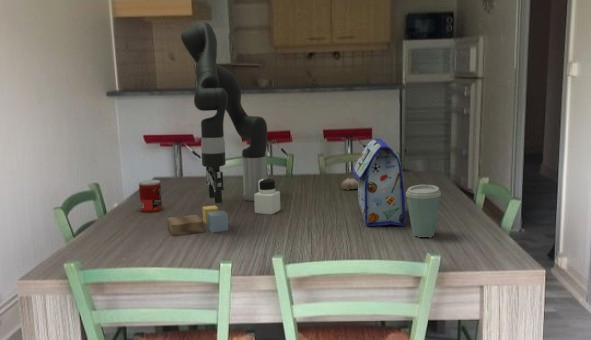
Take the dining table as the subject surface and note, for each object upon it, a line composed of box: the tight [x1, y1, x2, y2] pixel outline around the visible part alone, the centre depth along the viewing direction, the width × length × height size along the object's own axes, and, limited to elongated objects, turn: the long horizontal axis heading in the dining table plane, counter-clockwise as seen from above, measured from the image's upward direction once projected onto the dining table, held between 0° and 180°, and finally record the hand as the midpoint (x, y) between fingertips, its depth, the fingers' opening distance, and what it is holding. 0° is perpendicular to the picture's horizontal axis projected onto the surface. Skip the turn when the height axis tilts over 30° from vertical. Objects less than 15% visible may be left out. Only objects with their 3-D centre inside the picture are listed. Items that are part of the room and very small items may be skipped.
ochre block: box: [202, 205, 219, 225], centre depth 195 cm, size 4×4×5 cm
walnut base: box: [166, 214, 205, 237], centre depth 185 cm, size 10×10×4 cm
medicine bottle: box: [253, 178, 281, 216], centre depth 206 cm, size 7×7×12 cm
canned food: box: [138, 179, 163, 213], centre depth 213 cm, size 8×8×11 cm
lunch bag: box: [352, 137, 407, 227], centre depth 192 cm, size 23×17×27 cm
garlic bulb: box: [340, 170, 358, 191], centre depth 241 cm, size 8×7×8 cm
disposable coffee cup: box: [405, 184, 442, 238], centre depth 172 cm, size 11×11×15 cm
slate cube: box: [207, 210, 229, 234], centre depth 185 cm, size 6×6×6 cm
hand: (215, 200), depth 184 cm, fingers open, 8 cm apart
